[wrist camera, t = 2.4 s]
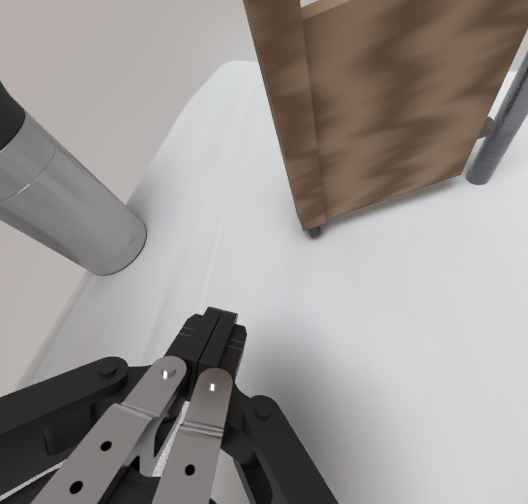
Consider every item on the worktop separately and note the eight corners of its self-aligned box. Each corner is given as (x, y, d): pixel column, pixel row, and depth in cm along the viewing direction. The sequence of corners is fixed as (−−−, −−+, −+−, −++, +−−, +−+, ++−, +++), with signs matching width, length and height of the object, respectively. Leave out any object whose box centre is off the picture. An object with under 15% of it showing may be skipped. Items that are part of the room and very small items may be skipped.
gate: (456, 172, 31) (612, -186, 12) (470, 189, 29) (671, -187, 11) (299, 224, 32) (237, -22, 14) (306, 242, 31) (246, -5, 13)
